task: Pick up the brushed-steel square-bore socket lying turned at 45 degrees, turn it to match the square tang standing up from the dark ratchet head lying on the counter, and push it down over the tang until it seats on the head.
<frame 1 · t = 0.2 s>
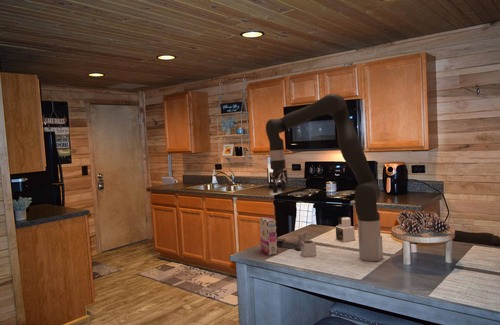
hand: (279, 191, 190), 28 cm above the table, fingers open, 8 cm apart
socket: (308, 254, 177), on the table
ratchet: (302, 248, 188), on the table
medicine bottle: (345, 240, 199), on the table
candy bar box: (269, 252, 186), on the table
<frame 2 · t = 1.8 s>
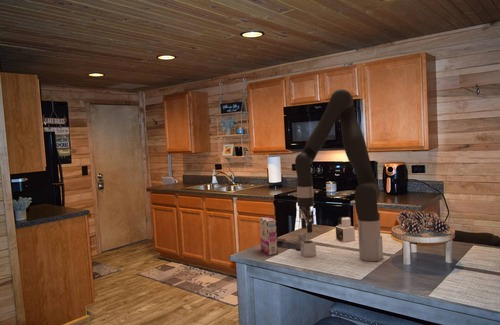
hand: (306, 230, 177), 11 cm above the table, fingers open, 8 cm apart
nothing on the table moved.
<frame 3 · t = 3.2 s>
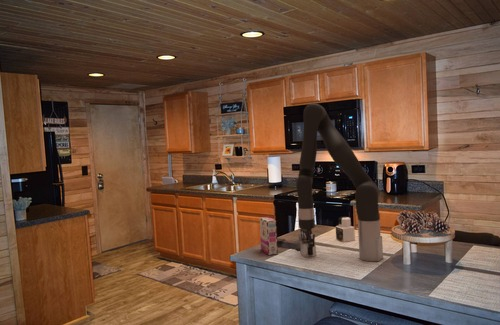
hand: (308, 253, 177), 1 cm above the table, fingers closed on socket, 5 cm apart
socket: (308, 254, 177), on the table, touching gripper
everything else where it was.
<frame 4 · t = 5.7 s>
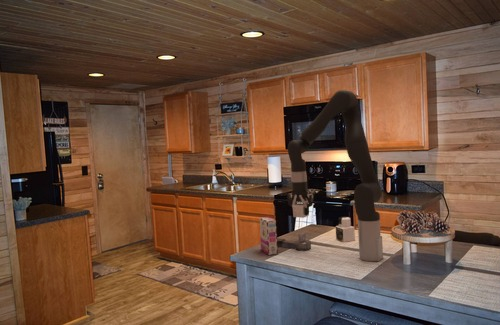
hand: (301, 214, 187), 17 cm above the table, fingers closed on socket, 5 cm apart
socket: (301, 216, 187), point 16 cm above the table, touching gripper
everything else where it was.
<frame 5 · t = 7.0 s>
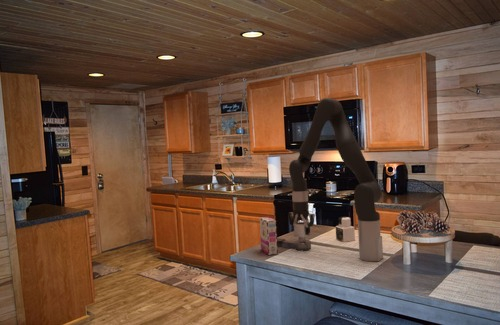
hand: (302, 233, 188), 7 cm above the table, fingers closed on socket, 5 cm apart
socket: (302, 235, 188), point 7 cm above the table, touching gripper
everything else where it was.
when the fingers open (5 cm above the table, at t = 8.0 s): socket stays where it is, resting on ratchet.
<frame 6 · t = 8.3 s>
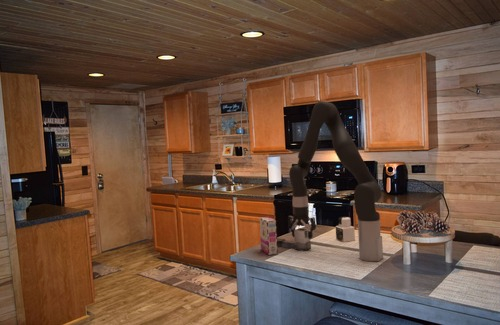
hand: (302, 237, 188), 5 cm above the table, fingers open, 8 cm apart
socket: (302, 241, 188), point 3 cm above the table, touching ratchet
everything else where it was.
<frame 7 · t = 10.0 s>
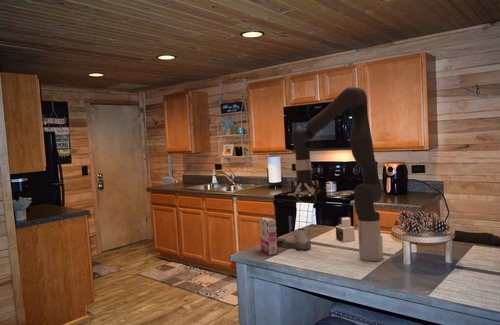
hand: (305, 201, 187), 23 cm above the table, fingers open, 8 cm apart
nothing on the table moved.
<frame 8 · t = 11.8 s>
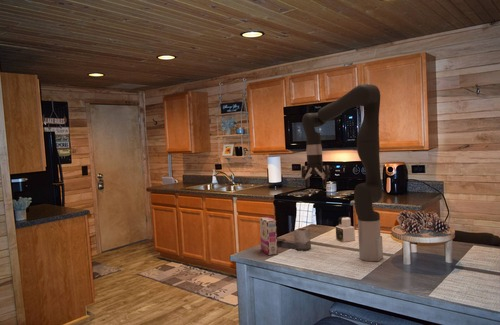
hand: (316, 186, 188), 30 cm above the table, fingers open, 8 cm apart
nothing on the table moved.
at the end: socket 0.0 cm off-centre on the ratchet, point 3.5 cm above the ratchet's base; socket tilted 0°; the gripper is holding nothing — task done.
